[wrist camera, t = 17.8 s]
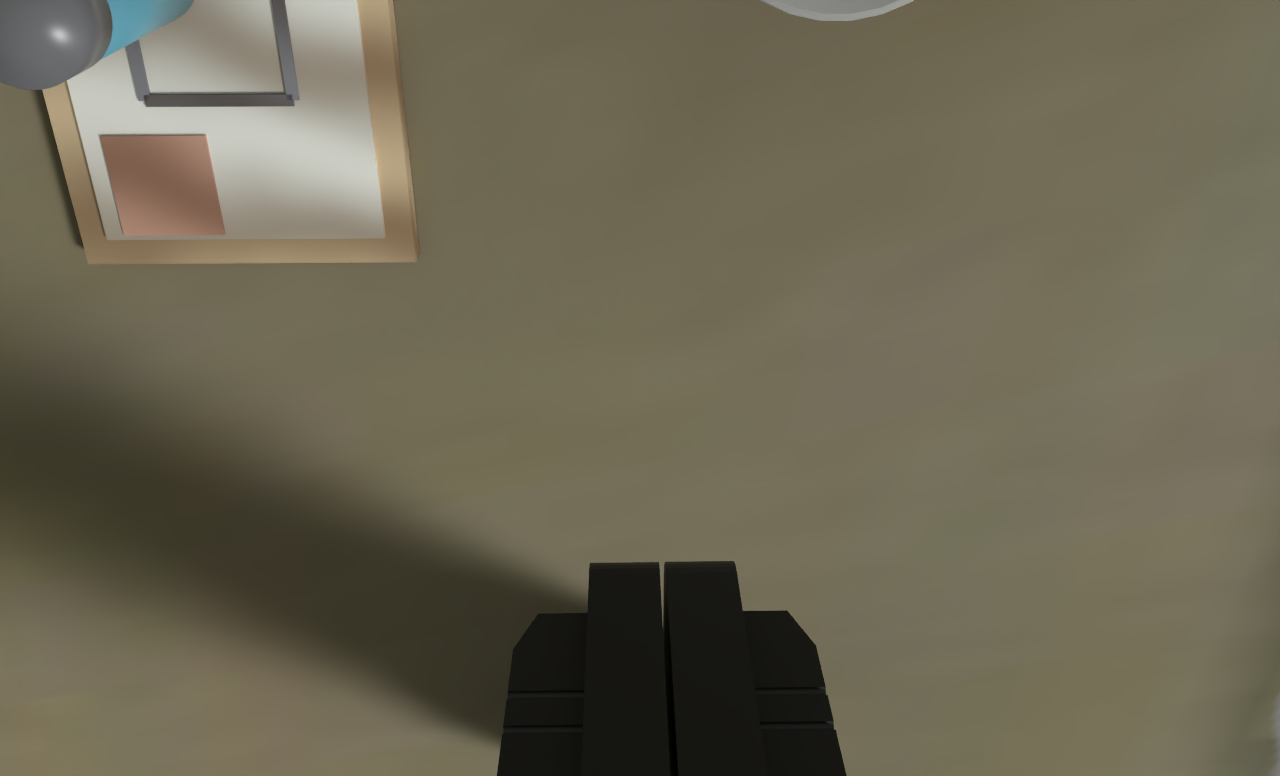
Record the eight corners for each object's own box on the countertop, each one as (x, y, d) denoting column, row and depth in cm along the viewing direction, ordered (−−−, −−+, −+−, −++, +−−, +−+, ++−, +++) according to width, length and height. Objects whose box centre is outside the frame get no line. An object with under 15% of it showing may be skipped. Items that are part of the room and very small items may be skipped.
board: (419, 254, 40) (414, 265, 39) (97, 256, 40) (84, 267, 39) (367, -241, 32) (359, -243, 31) (-31, -241, 32) (-52, -243, 31)
